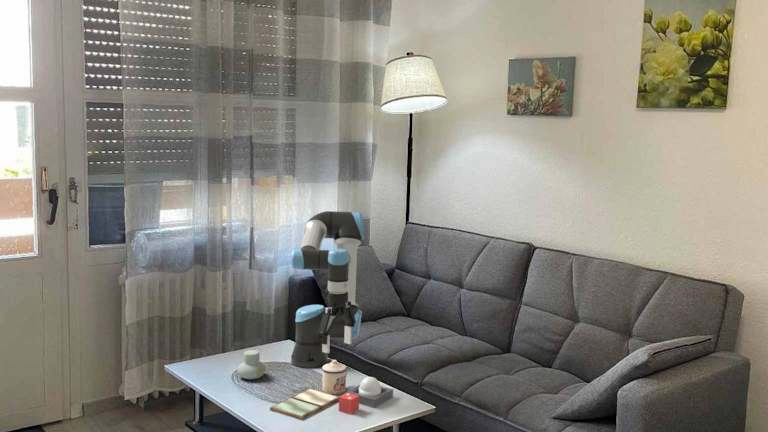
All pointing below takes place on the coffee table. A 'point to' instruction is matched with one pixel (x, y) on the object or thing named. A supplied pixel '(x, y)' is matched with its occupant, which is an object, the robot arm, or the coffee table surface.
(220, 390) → the coffee table surface
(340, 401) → the red die
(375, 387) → the dome button
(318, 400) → the wooden picture frame
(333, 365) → the teacup with lid
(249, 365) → the air freshener
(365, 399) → the button bezel
